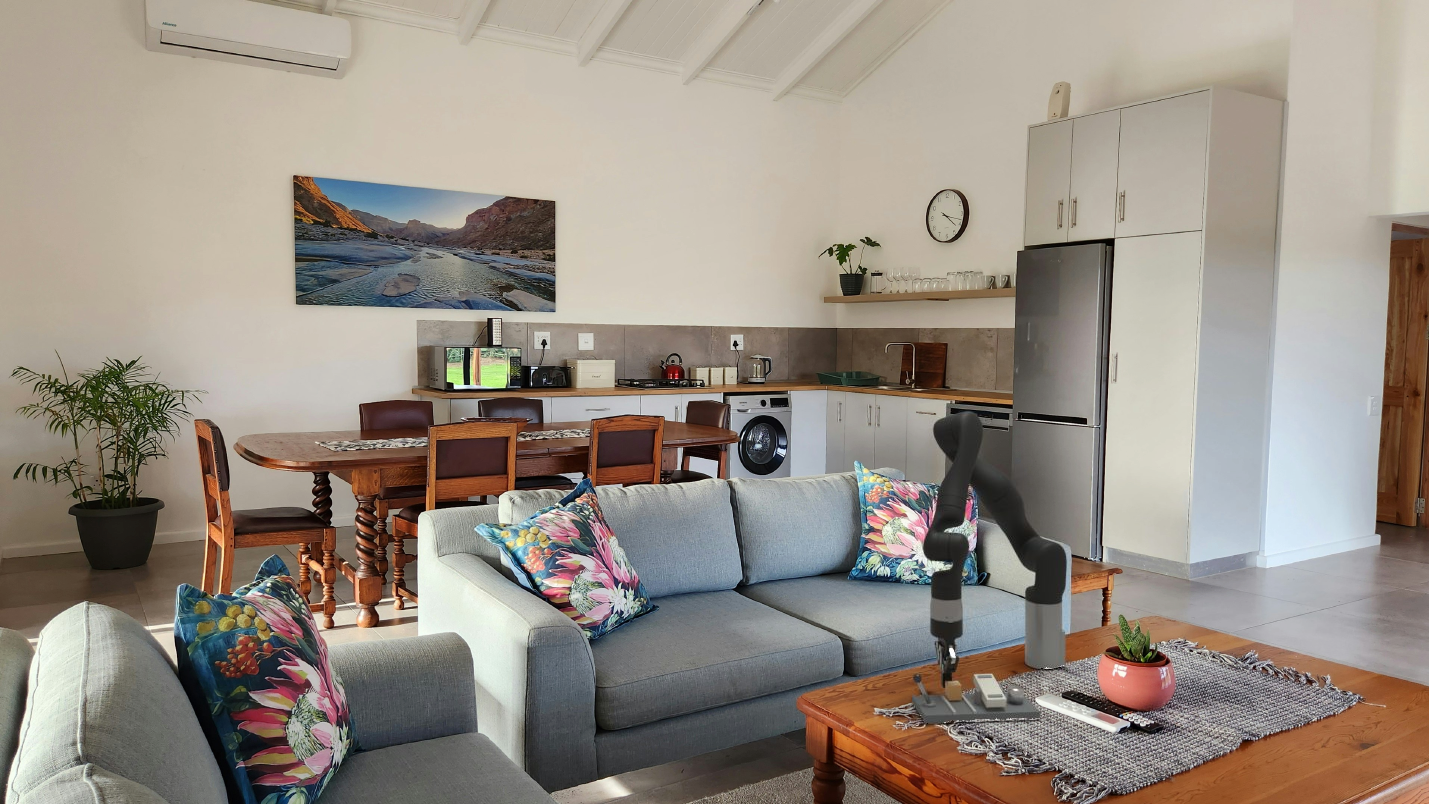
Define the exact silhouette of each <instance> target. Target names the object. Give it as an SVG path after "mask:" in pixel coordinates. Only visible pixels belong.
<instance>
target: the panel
mask: <svg viewBox="0 0 1429 804" xmlns="http://www.w3.org/2000/svg"><path fill="white" fill-rule="evenodd" d="M999 687H1000V688H1001V690H1002V692H1003V694H1004V696H1005V697H1006V699H1007V692H1006V691H1005V690H1004V689H1003V688H1002V686H999ZM928 696H929V698H930V701H931V703H930V704H928V703H927V702H926V700H925V698H924V696H923V694H922V695H911V705H912V704H913V705H914V706H915V708H916V709H917V711H918V712H917V711H916V712H917V714H918V713H919V714H920V715H921V717H922V718H923V720H924V722H925V723H924V722H923V723H924V725H942V724H941V723H943V722H946V721H950V720H959V721H960V720H961V721H962V720H975V719H996V718H997V719H1007V718H1009V719H1010V718H1028V719H1032V718H1033V719H1035V718H1040V719H1041V711H1040V710H1039V709H1038V708H1037V706H1036V705H1034V704H1033V703H1032V701H1030V700H1029V699H1028V698H1027V697H1026V696H1025V695H1024V694H1023V703H1021V704H1013V703H1010V702H1008V701H1007V700H1006V707H986V706H985V704H984V702H983V700H982V698H981V696H980V691H979V690H978V688H976V687H974V693H962V700H952V701H949V700H948V699H947V697H946V696H945V694H928ZM913 705H912V706H913ZM914 706H913V707H914ZM915 708H914V709H915ZM916 709H915V710H916ZM919 714H918V715H919ZM920 715H919V716H920ZM921 717H920V718H921ZM922 718H921V719H922ZM923 720H922V721H923ZM927 723H928V724H927Z"/></svg>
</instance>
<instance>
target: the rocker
mask: <svg viewBox="0 0 1429 804" xmlns="http://www.w3.org/2000/svg"><path fill="white" fill-rule="evenodd" d="M972 680H973V684H974V686H975V688H978V690H979V691H980V696H981V698H982V700H983V702H984V704H985V706H986V707H1006V700H1007V699H1006V697H1005V696H1004V694H1003V692H1002V690H1001V688H1002V687H1001V686H1000V685H999V683H998V681H997V679H996V678H995V676H994V674H993V673H977V674H975V673H974V674H973V677H972ZM1000 687H1001V688H1000Z"/></svg>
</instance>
